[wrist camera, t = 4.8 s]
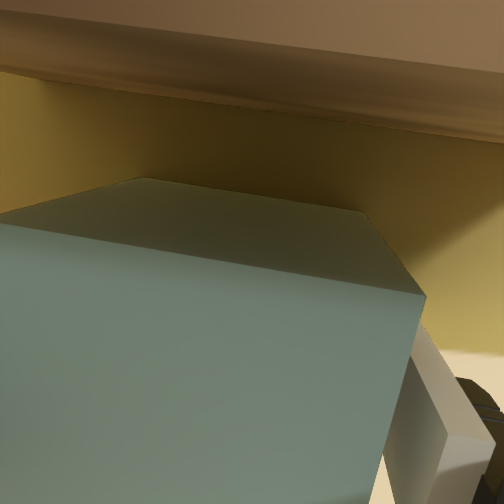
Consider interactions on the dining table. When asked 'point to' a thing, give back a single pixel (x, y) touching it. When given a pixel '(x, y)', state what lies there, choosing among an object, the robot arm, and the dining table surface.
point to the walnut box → (279, 56)
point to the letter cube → (197, 348)
